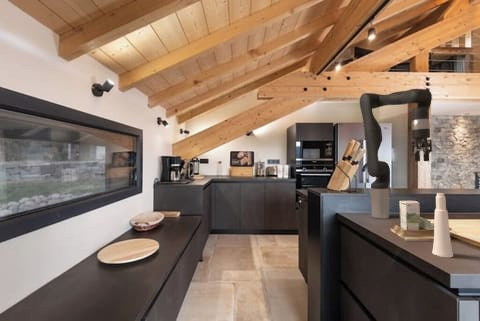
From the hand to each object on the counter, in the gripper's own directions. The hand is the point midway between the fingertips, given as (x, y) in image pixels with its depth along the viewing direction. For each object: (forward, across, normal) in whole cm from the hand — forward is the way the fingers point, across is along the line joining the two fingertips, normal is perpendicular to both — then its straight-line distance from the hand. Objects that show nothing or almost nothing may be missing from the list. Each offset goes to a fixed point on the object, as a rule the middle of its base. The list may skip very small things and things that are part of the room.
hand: (421, 161), depth 130 cm
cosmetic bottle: (+33, -39, +13) cm, 53 cm away
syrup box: (+32, -15, +13) cm, 38 cm away
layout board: (+33, -14, +10) cm, 37 cm away
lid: (+29, -15, +3) cm, 33 cm away
